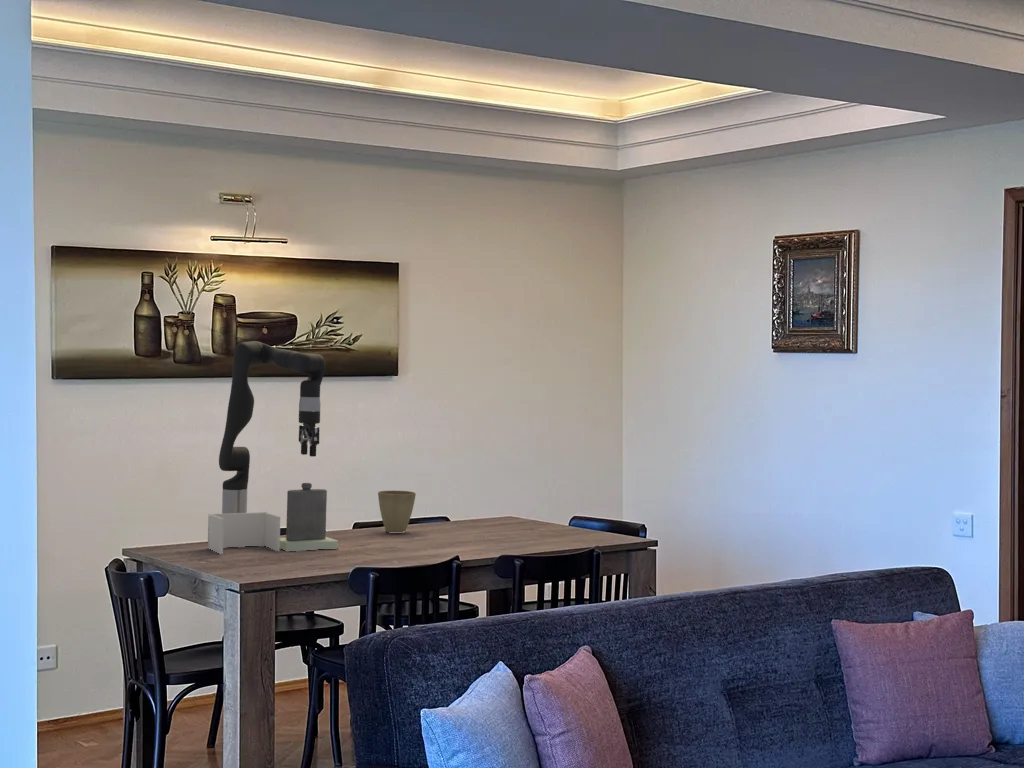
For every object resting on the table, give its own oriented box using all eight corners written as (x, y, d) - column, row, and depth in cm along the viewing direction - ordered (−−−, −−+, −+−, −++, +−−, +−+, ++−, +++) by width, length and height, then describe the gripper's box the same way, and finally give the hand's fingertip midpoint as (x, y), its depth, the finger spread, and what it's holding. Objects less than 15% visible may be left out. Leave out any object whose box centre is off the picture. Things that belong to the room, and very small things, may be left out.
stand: (273, 546, 438) (273, 538, 438) (323, 544, 448) (323, 535, 448) (286, 551, 426) (287, 543, 426) (338, 549, 436) (338, 540, 436)
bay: (207, 548, 429) (208, 514, 429) (265, 545, 439) (266, 512, 439) (219, 554, 416) (220, 518, 416) (279, 551, 427) (280, 516, 427)
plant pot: (370, 533, 480) (371, 492, 480) (385, 529, 495) (386, 489, 494) (406, 536, 476) (407, 495, 476) (420, 531, 490) (421, 491, 490)
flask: (320, 537, 444) (321, 481, 444) (328, 539, 439) (329, 483, 439) (282, 539, 435) (284, 483, 435) (290, 541, 430) (291, 484, 430)
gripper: (292, 409, 441) (291, 454, 441) (306, 410, 428) (305, 457, 429) (312, 409, 444) (311, 454, 445) (327, 410, 432) (325, 456, 432)
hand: (308, 455), depth 437 cm, fingers open, 8 cm apart
